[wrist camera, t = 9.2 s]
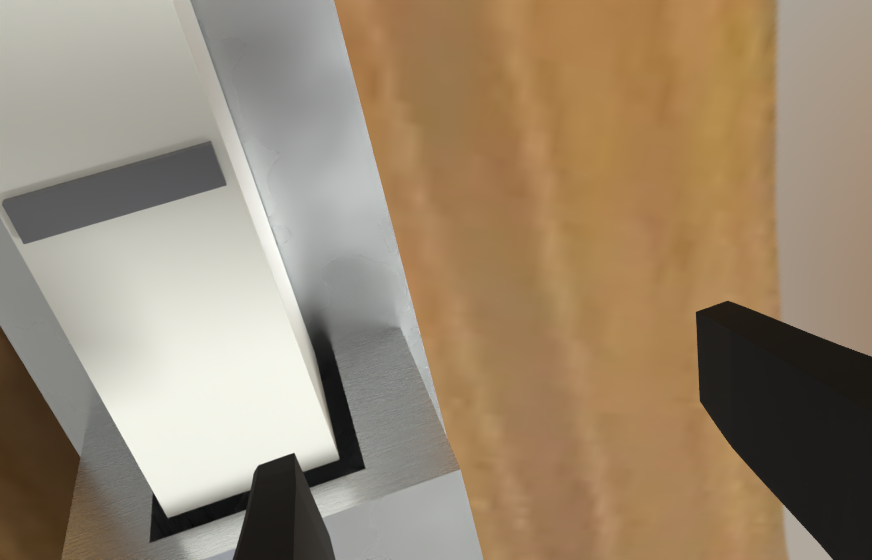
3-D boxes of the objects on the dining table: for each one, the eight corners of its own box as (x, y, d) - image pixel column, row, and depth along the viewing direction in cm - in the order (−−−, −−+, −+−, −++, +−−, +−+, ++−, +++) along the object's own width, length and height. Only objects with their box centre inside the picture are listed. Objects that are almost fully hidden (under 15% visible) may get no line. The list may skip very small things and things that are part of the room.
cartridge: (315, 353, 22) (341, 465, 18) (172, 400, 21) (167, 524, 17) (109, -228, 15) (78, -254, 11) (-113, -179, 14) (-231, -186, 10)
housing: (462, 509, 28) (534, 687, 22) (187, 608, 27) (184, 824, 21) (291, -144, 17) (342, -136, 11) (-189, -28, 16) (-416, 50, 10)
